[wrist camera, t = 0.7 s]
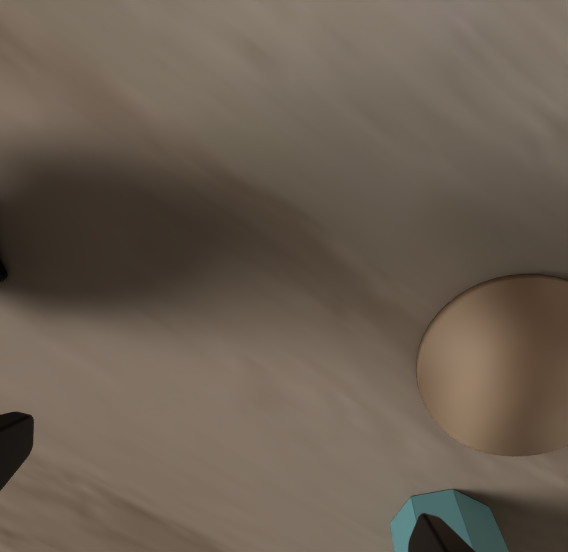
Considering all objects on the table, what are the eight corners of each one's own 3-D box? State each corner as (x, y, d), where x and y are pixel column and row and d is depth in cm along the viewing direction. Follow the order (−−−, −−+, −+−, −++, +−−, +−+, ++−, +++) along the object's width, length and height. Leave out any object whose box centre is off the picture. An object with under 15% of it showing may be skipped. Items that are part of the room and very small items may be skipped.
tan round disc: (440, 461, 24) (444, 472, 23) (394, 305, 21) (396, 311, 21) (632, 424, 22) (643, 434, 21) (606, 248, 19) (617, 252, 19)
